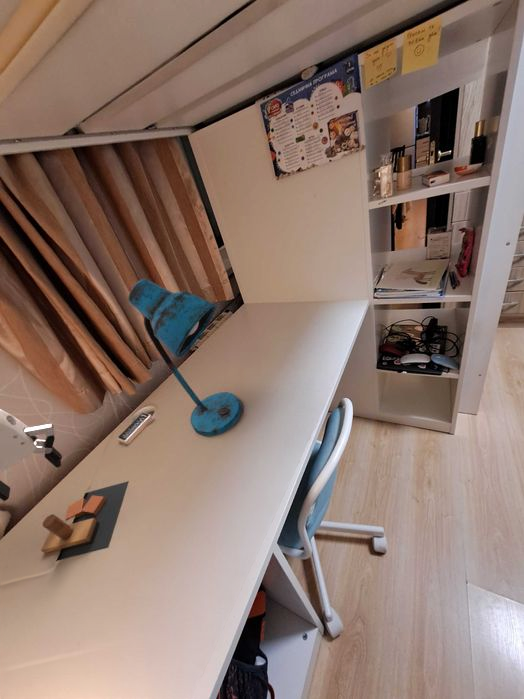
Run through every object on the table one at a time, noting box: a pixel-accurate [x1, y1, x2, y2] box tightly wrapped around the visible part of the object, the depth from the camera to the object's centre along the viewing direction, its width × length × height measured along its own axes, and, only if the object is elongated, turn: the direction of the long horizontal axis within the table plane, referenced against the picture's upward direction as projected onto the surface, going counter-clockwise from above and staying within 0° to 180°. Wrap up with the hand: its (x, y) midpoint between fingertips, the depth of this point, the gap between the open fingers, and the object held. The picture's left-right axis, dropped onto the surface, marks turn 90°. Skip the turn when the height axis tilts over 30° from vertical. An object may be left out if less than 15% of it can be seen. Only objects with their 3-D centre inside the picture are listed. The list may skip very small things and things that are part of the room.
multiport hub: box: [117, 412, 155, 446], centre depth 93 cm, size 4×11×2 cm, turn 150°
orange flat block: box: [64, 497, 87, 521], centre depth 73 cm, size 4×4×1 cm
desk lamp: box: [127, 278, 243, 437], centre depth 76 cm, size 16×22×45 cm
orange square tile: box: [82, 495, 107, 515], centre depth 73 cm, size 4×4×1 cm
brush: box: [40, 513, 100, 554], centre depth 65 cm, size 11×4×9 cm, turn 96°
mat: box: [55, 480, 130, 562], centre depth 71 cm, size 20×16×1 cm
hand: (34, 478), depth 58 cm, fingers open, 9 cm apart
